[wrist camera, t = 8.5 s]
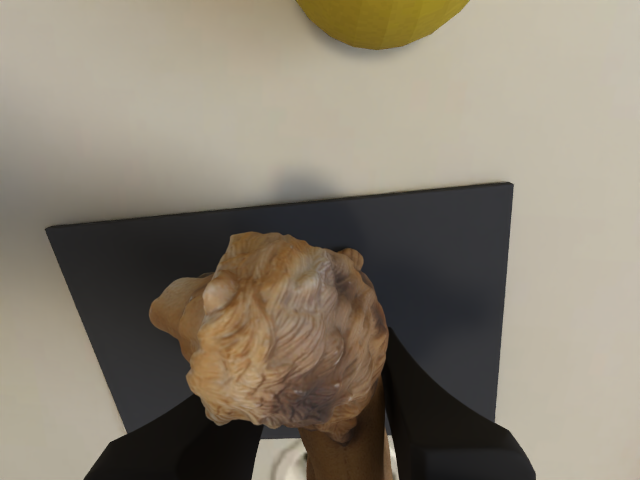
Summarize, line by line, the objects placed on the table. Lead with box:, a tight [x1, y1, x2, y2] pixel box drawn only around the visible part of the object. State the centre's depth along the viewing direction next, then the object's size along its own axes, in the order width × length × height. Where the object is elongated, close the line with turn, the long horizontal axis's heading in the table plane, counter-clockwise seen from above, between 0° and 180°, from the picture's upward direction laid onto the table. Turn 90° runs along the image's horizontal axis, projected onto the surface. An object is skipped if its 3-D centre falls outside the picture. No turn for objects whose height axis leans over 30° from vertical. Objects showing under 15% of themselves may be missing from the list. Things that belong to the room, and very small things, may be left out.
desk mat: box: [45, 182, 514, 439], centre depth 16 cm, size 20×13×1 cm, turn 97°
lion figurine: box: [149, 232, 393, 480], centre depth 12 cm, size 15×5×9 cm, turn 20°
